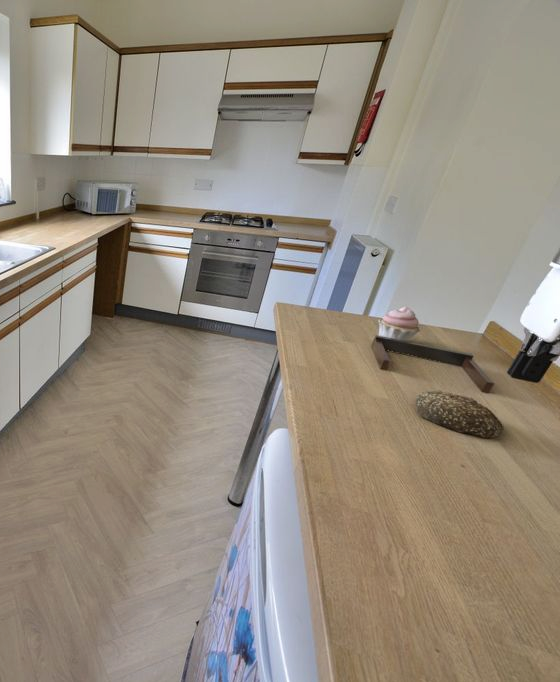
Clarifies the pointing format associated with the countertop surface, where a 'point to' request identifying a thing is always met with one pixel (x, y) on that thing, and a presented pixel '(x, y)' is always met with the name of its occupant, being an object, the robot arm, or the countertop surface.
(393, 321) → the cupcake
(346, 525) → the countertop surface
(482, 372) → the frame
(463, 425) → the bread roll
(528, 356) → the robot arm
